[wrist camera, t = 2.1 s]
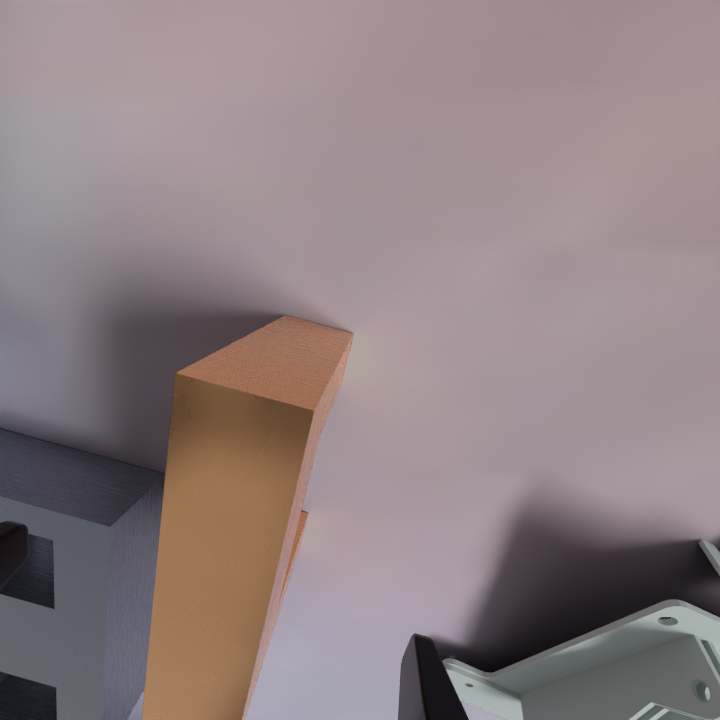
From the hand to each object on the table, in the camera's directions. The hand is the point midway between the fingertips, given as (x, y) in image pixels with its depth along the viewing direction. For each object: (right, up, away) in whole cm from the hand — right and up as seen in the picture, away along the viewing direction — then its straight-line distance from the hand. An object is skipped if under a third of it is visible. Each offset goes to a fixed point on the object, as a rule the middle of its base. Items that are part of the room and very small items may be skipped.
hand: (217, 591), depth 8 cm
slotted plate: (-11, -5, +9) cm, 15 cm away
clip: (+1, +2, +6) cm, 6 cm away
